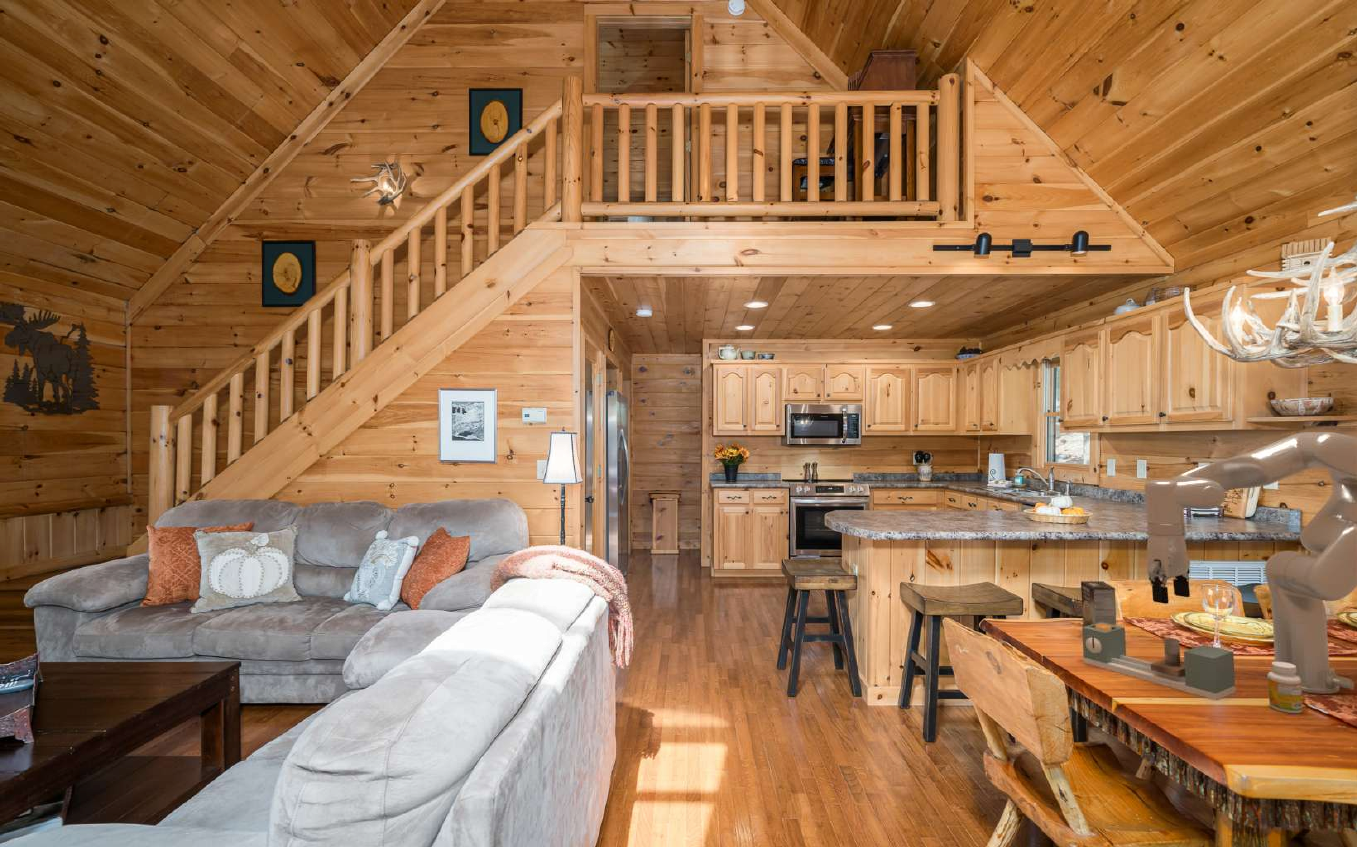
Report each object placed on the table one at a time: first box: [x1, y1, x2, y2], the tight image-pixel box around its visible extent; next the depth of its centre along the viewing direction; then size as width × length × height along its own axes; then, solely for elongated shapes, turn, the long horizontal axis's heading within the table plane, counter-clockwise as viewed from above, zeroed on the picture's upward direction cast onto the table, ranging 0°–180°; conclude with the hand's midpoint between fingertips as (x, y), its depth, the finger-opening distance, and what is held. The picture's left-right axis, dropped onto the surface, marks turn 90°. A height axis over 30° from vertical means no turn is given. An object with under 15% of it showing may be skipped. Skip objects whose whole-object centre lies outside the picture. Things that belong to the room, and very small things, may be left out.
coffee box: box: [1080, 580, 1117, 627], centre depth 198 cm, size 9×6×16 cm
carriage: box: [1151, 637, 1185, 677], centre depth 162 cm, size 6×8×8 cm
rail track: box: [1083, 655, 1236, 701], centre depth 166 cm, size 30×9×2 cm, turn 28°
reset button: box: [1095, 624, 1111, 631], centre depth 177 cm, size 4×4×3 cm
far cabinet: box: [1081, 622, 1127, 664], centre depth 176 cm, size 6×10×8 cm, turn 118°
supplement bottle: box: [1267, 661, 1304, 714], centre depth 145 cm, size 5×5×10 cm
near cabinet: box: [1183, 644, 1236, 694], centre depth 156 cm, size 7×9×8 cm
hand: (1171, 599), depth 162 cm, fingers open, 9 cm apart
